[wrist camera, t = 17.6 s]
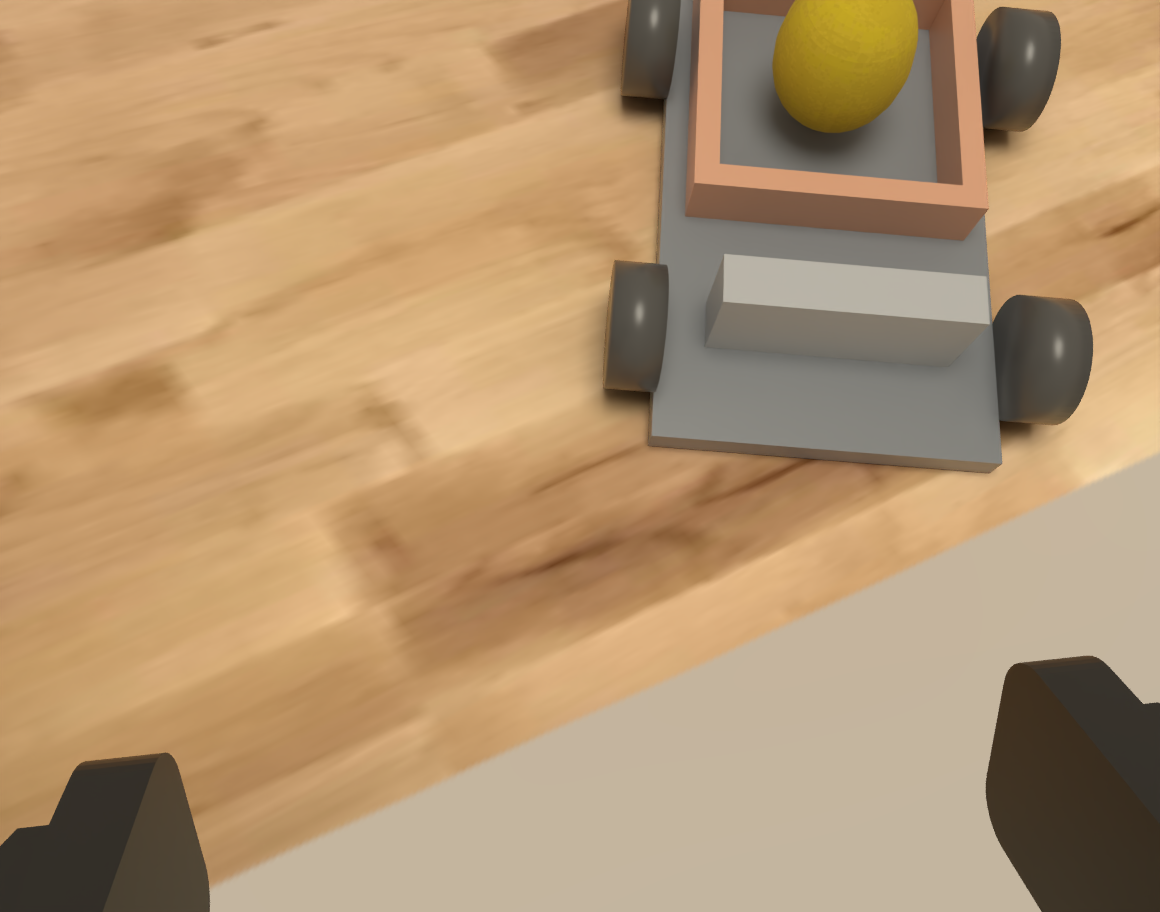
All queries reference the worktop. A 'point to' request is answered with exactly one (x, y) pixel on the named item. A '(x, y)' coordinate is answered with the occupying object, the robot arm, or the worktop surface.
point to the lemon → (843, 60)
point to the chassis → (836, 250)
